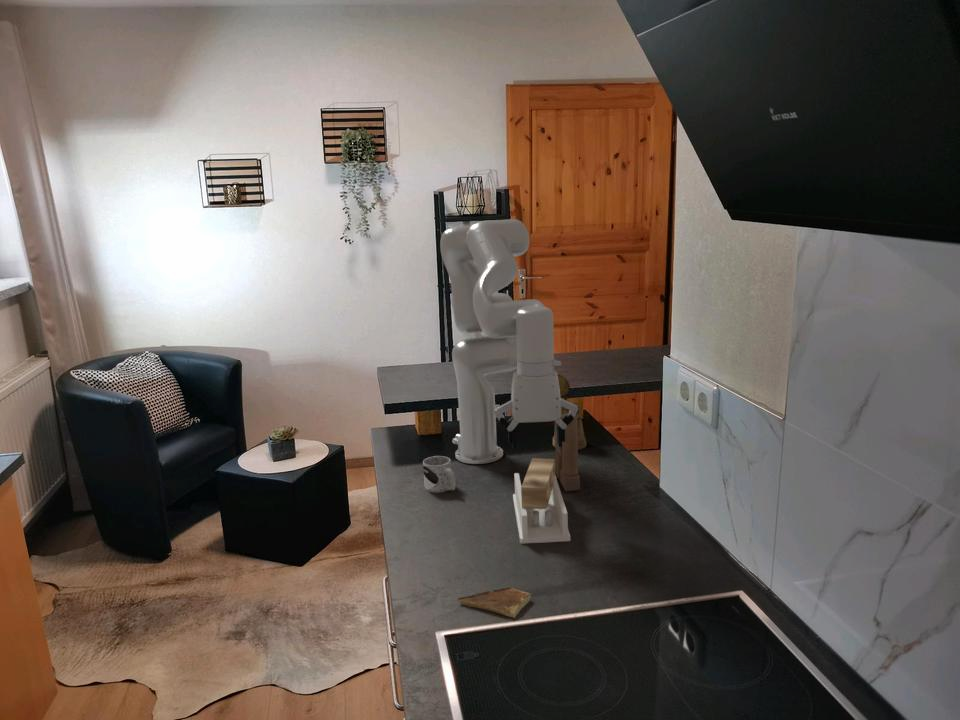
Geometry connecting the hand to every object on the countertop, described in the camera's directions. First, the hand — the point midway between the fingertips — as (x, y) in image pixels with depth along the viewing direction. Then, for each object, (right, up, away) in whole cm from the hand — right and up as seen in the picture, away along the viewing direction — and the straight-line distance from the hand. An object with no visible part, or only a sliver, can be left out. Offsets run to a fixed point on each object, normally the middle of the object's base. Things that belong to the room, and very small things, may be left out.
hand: (536, 446), depth 156 cm
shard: (-9, -25, -29) cm, 39 cm away
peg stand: (+1, -16, +3) cm, 16 cm away
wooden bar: (+1, -10, +2) cm, 10 cm away
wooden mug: (+12, -5, +48) cm, 50 cm away
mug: (-21, -13, +21) cm, 32 cm away
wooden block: (+9, -11, +21) cm, 26 cm away
